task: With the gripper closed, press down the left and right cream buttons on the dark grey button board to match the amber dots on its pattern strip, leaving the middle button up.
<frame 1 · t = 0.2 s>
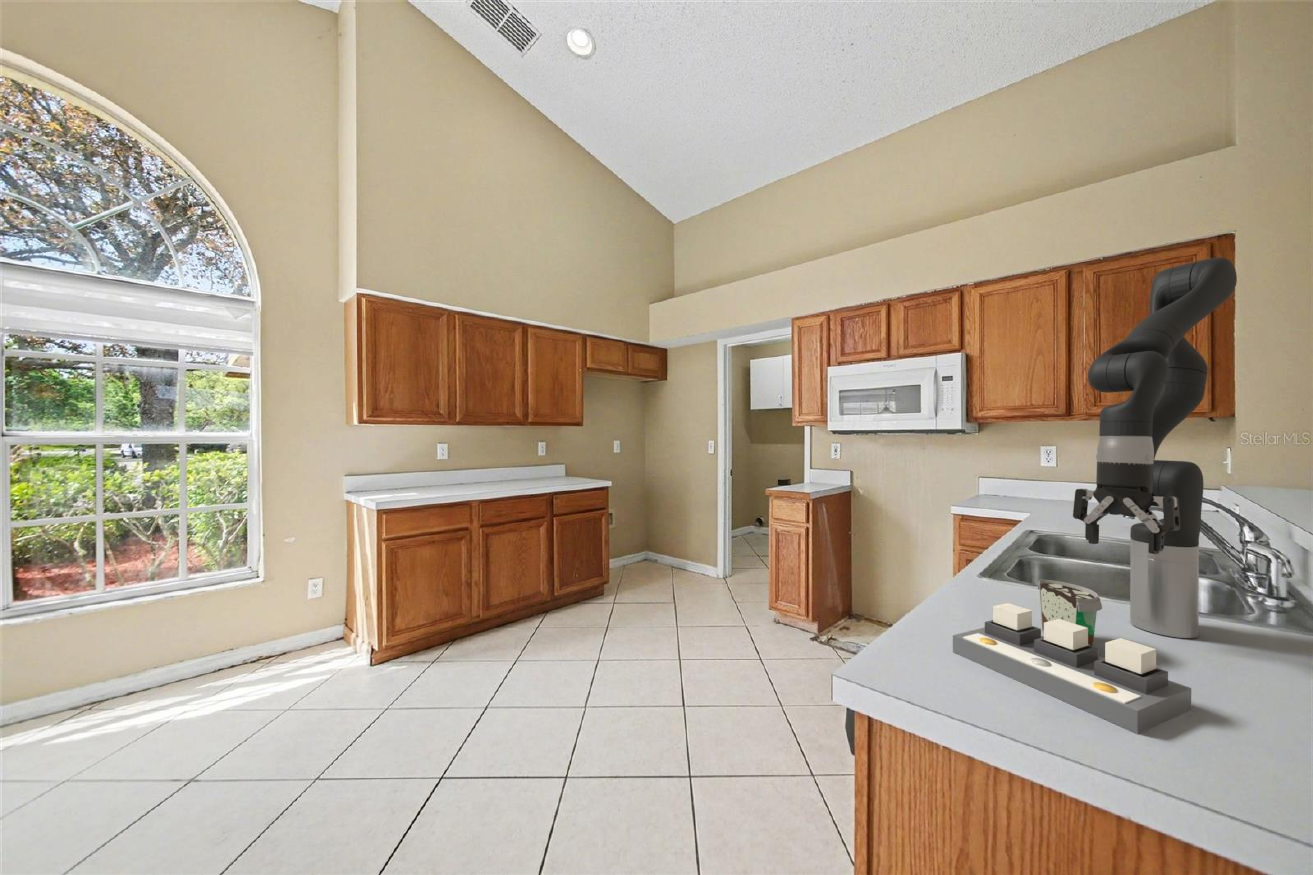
hand: (1122, 548, 88), 17 cm above the countertop, tool pointing down, fingers open, 8 cm apart
button left: (1012, 616, 84), point 7 cm above the countertop, slide at 0.0 cm
button middle: (1065, 634, 76), point 7 cm above the countertop, slide at 0.0 cm
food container: (1075, 644, 88), on the countertop
button board: (1058, 677, 76), on the countertop
button right: (1130, 655, 69), point 7 cm above the countertop, slide at 0.0 cm
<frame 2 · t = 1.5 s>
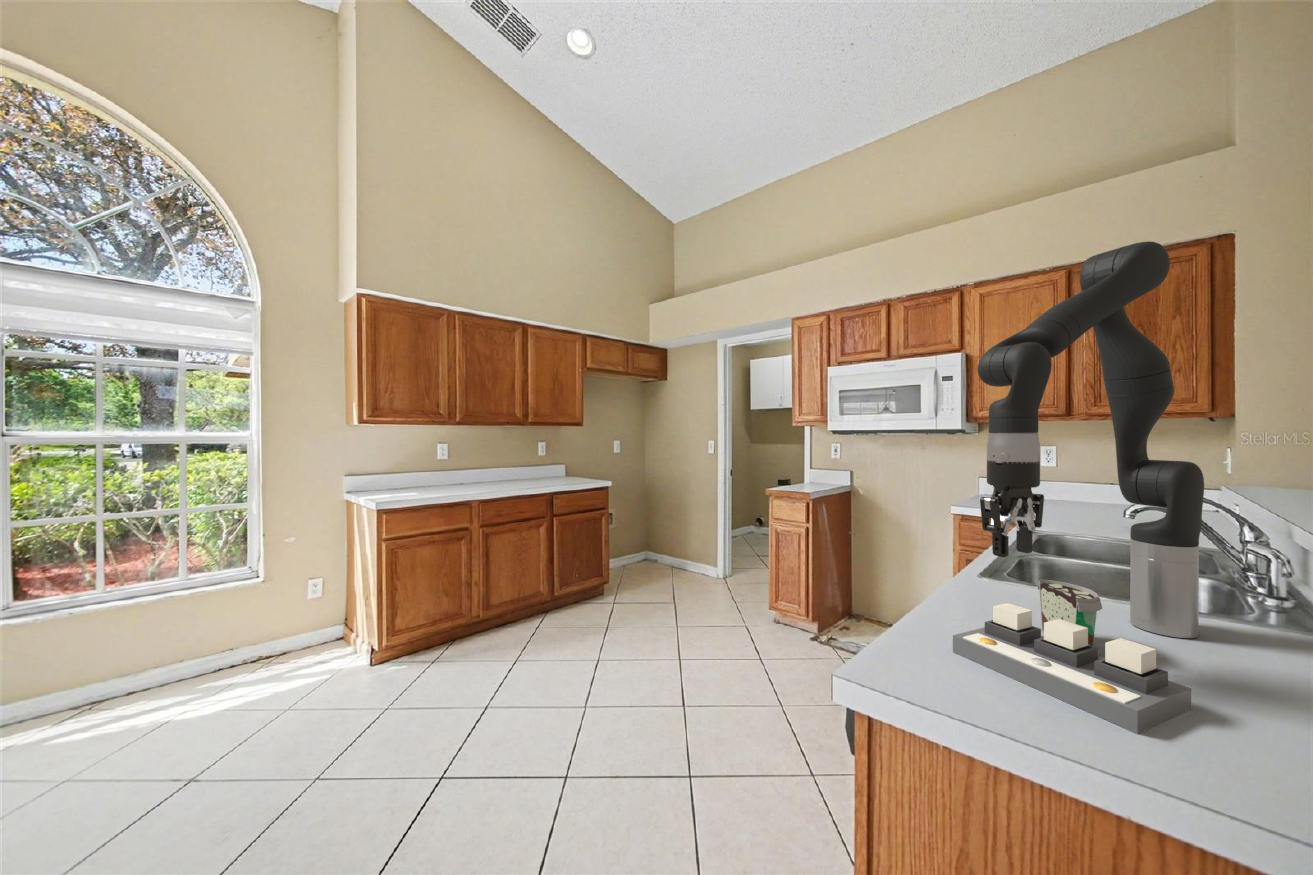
hand: (1012, 553, 84), 18 cm above the countertop, tool pointing down, fingers open, 6 cm apart
nothing on the countertop moved.
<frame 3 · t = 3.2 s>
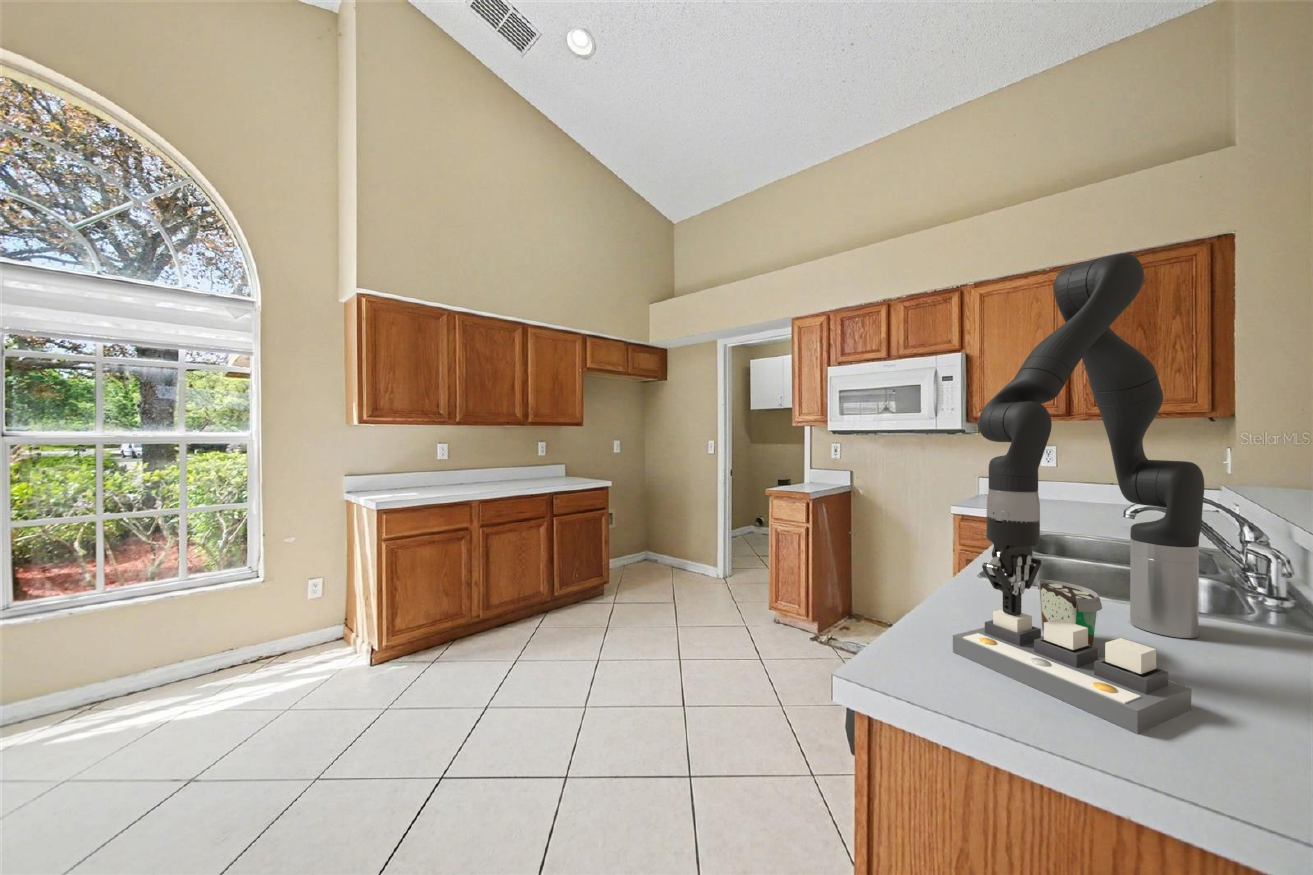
hand: (1011, 613, 84), 7 cm above the countertop, tool pointing down, fingers closed
button left: (1012, 621, 84), point 6 cm above the countertop, slide at 1.0 cm, touching gripper
everything else where it was.
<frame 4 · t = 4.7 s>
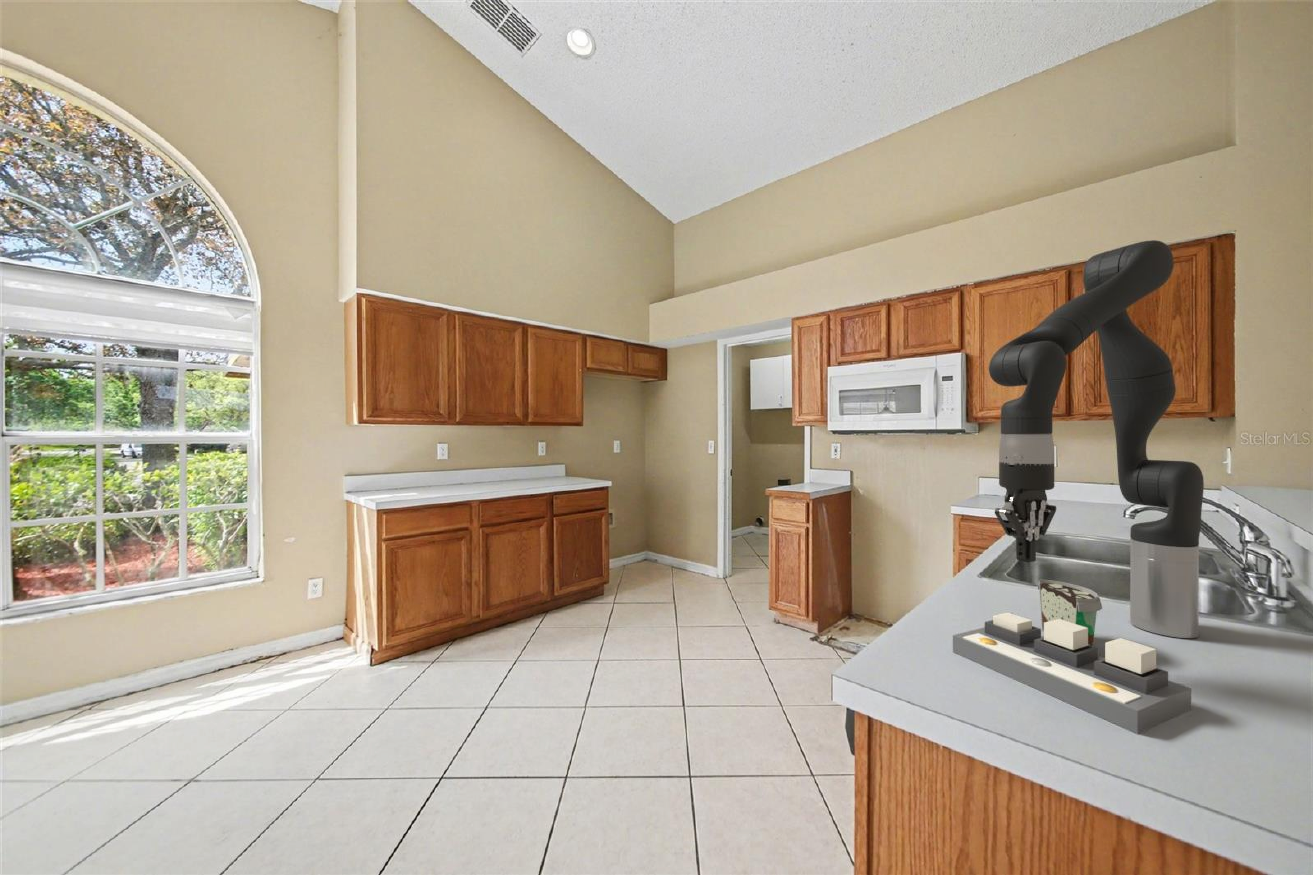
hand: (1025, 561, 82), 17 cm above the countertop, tool pointing down, fingers closed
button left: (1012, 625, 84), point 5 cm above the countertop, slide at 1.7 cm
everything else where it was.
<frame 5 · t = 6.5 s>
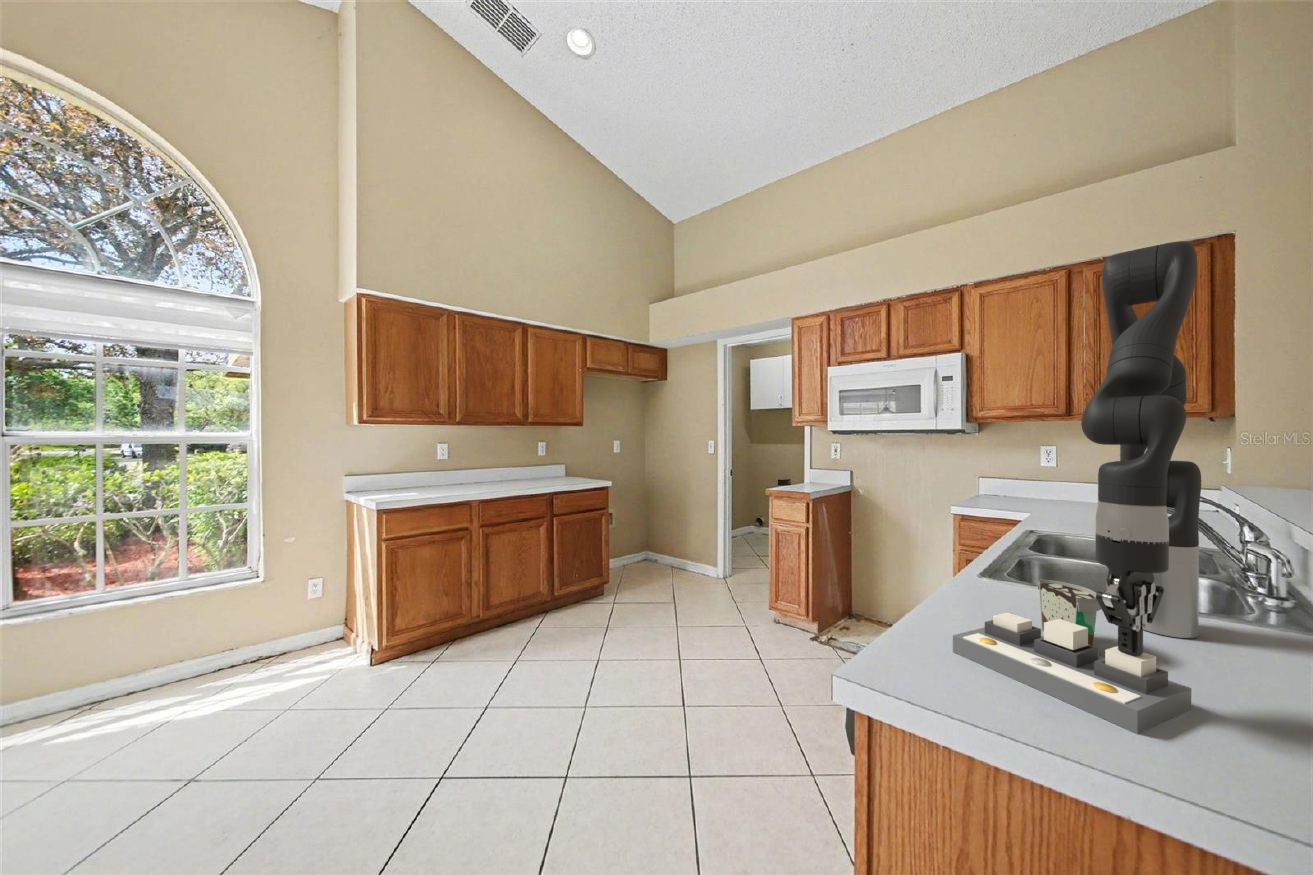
hand: (1130, 653, 69), 7 cm above the countertop, tool pointing down, fingers closed
button right: (1130, 662, 69), point 6 cm above the countertop, slide at 1.1 cm, touching gripper
everything else where it was.
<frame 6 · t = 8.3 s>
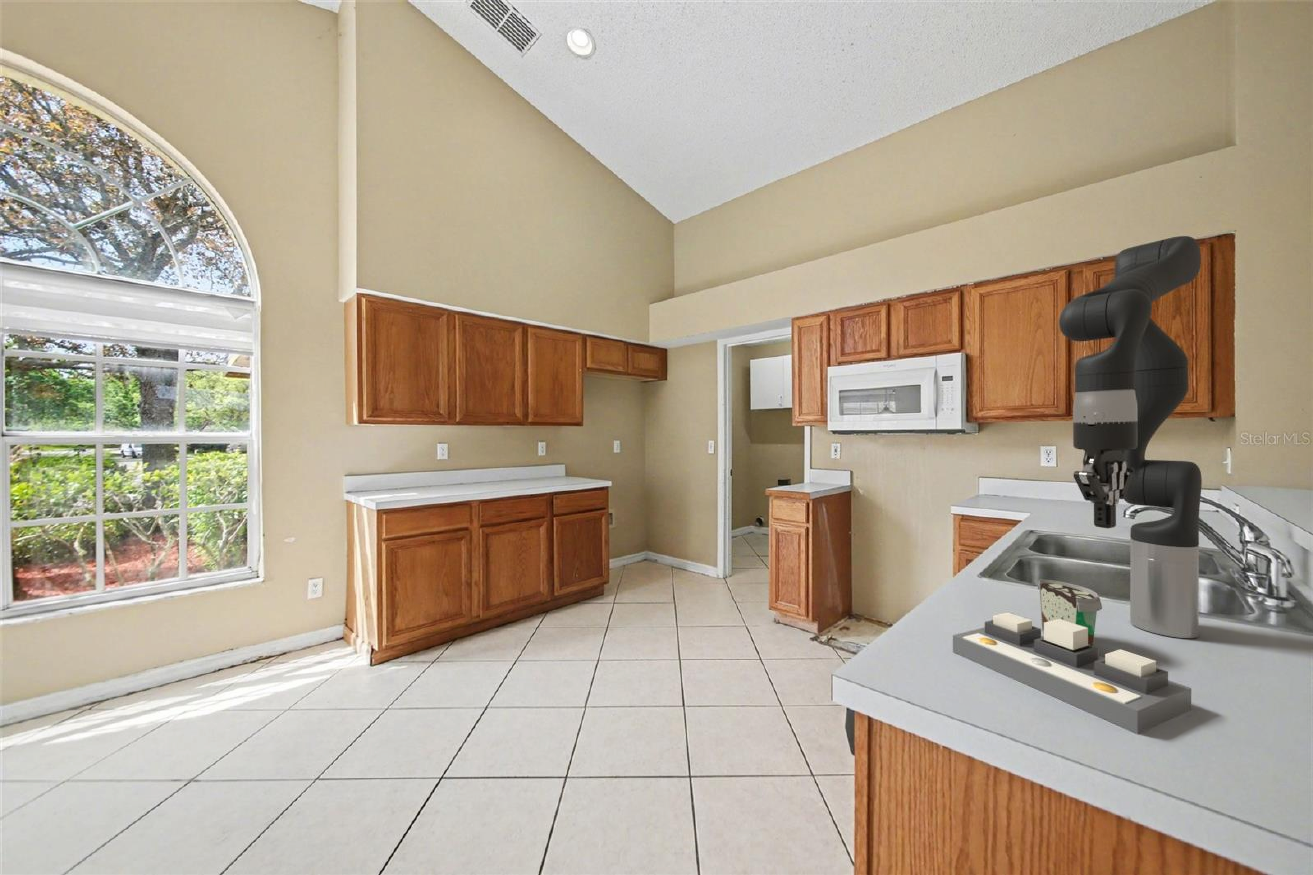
hand: (1104, 527, 77), 24 cm above the countertop, tool pointing down, fingers closed
button right: (1130, 667, 69), point 5 cm above the countertop, slide at 1.7 cm
everything else where it was.
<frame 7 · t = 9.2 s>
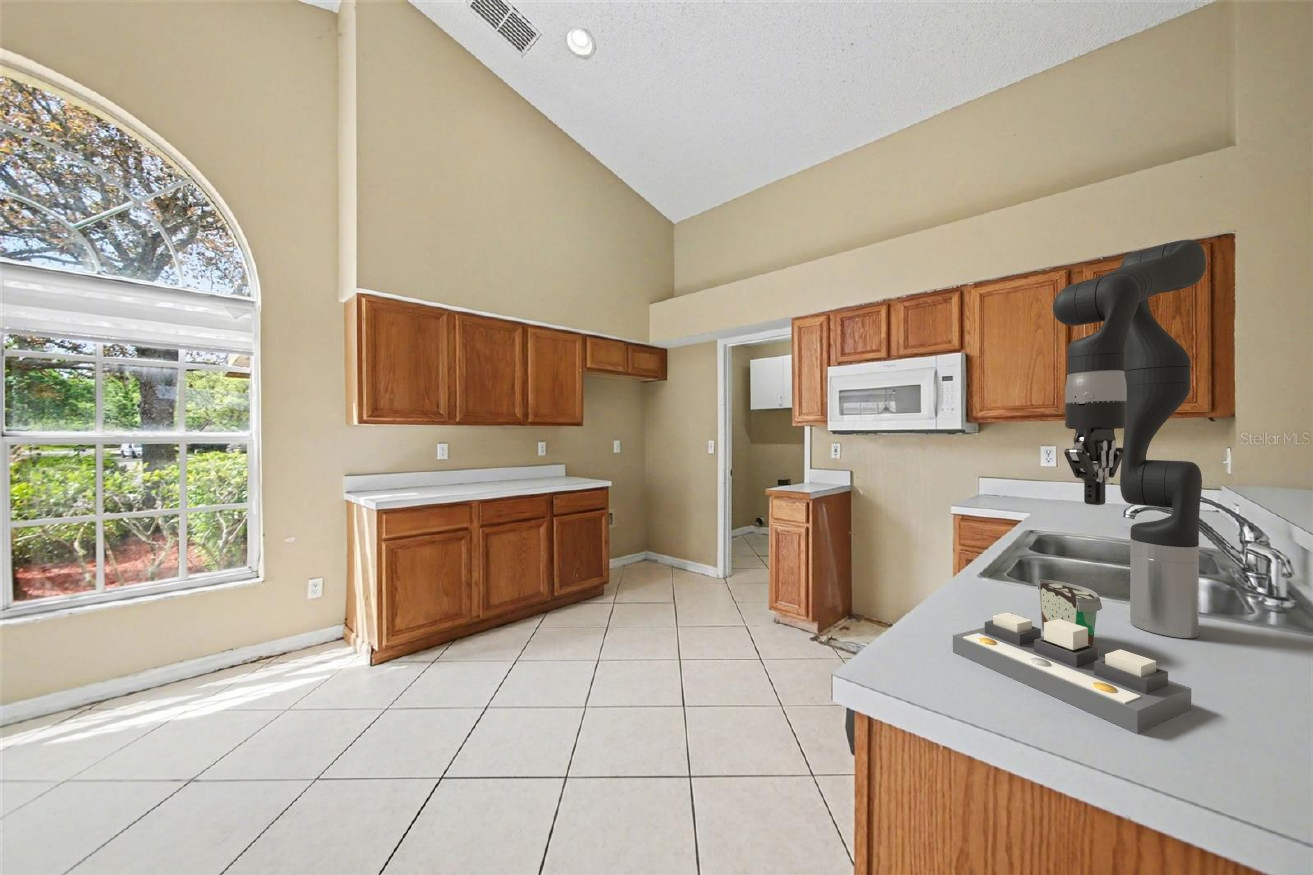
hand: (1094, 504, 79), 27 cm above the countertop, tool pointing down, fingers closed
nothing on the countertop moved.
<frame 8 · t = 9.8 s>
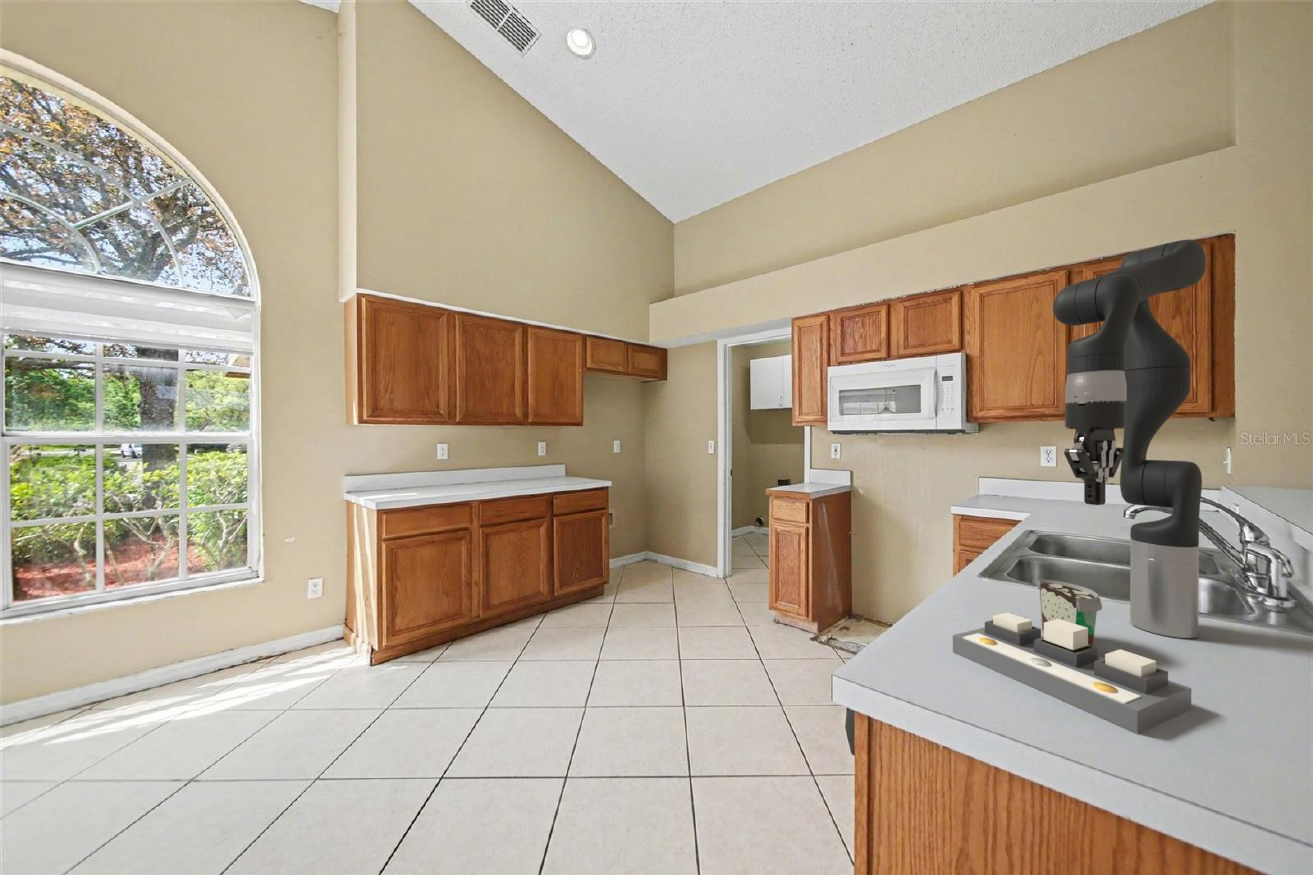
hand: (1094, 504, 79), 27 cm above the countertop, tool pointing down, fingers closed
nothing on the countertop moved.
at the end: button left slide at 1.7 cm; button right slide at 1.7 cm; button middle slide at 0.0 cm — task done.
